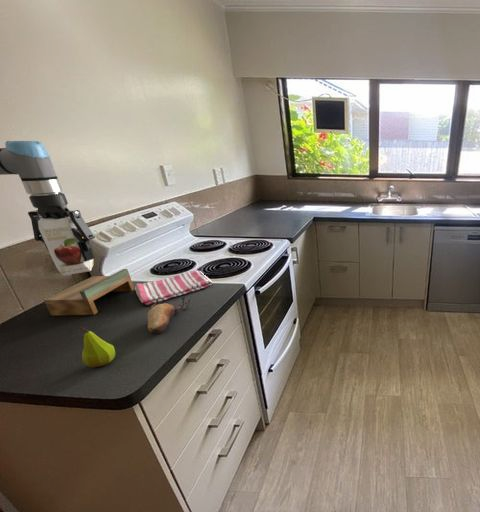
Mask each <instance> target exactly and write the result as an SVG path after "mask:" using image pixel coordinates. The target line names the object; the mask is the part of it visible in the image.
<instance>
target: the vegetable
mask: <svg viewBox="0 0 480 512" xmlns="http://www.w3.org/2000/svg"><path fill="white" fill-rule="evenodd" d="M157 296H159V294H158V295H157ZM185 298H186V296H183V297H182V298H181V300H182V305H181V304H179V305H178V306H179V307H177V306H174V305H173V304H171V303H168V302H167V301H166V302H164V303H162V302H163V301H164V300H163V299H162V300H163V301H160V302H158V299H159V297H158V299H157V302H156V303H153V304H151V306H150V309H149V310H148V312H147V314H146V317H147V318H146V319H147V330H148V332H150V333H151V334H154V335H160V334H162V333H164V332H165V331H166V329H167V328H168V325H169V322H170V320H171V319H172V317H174V316H175V315H176V314H177V312H178V311H186V309H187V308H188V307H189V305H190V303H191V299H188V300H187V301H188V303H187V302H185ZM157 303H158V304H157ZM184 305H185V308H184Z"/></svg>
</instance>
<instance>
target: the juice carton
mask: <svg viewBox="0 0 480 512" xmlns="http://www.w3.org/2000/svg"><path fill="white" fill-rule="evenodd" d="M38 225H39V230H40V233H41V235H42V237H43V239H44V241H45V244H46V246H47V248H48V250H49V251H48V250H47V251H48V253H49V255H50V256H51V260H52V262H53V263H54V265H55V268H56V269H57V271H58V272H59V273H60V275H62V276H63V277H64V276H70V275H76V274H81V273H87V272H91V271H92V269H93V267H94V259H91V260H89V261H85V260H84V257H83V255H82V252H81V250H80V248H79V245H78V242H79V240H78V239H77V238H76V237H75V236H74V235H73V232H72V230H71V228H75V229H77V228H76V226H75V225H74V223H73V222H72V220H71V218H70V217H65V218H61V219H54V218H47V219H45V218H41V219H40V220H39V221H38ZM41 235H40V236H41ZM82 238H83V237H82ZM45 244H44V245H45ZM46 246H45V247H46ZM47 248H46V249H47Z"/></svg>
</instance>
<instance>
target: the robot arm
mask: <svg viewBox="0 0 480 512" xmlns="http://www.w3.org/2000/svg"><path fill="white" fill-rule="evenodd" d="M4 145H5V147H0V176H1V175H3V176H4V175H6V176H7V175H18V177H19V178H20V180H21V183H22V185H23V187H24V190H25V192H26V194H27V195H29V196H28V198H29V200H30V203H31V205H32V207H33V208H35V209H36V210H30V211H28V212H27V215H28V216H29V218H30V221H31V222H30V223H31V226H32V231H33V238H34V241H36V242H42V243H43V244H44V246H45V248H46V250H47V252H49V250H48V248H47V246H46V244H45V241H44V239H43V237H42V235H41V233H40V230H39V225H38V221H39V220H40V219H41V218H45V219H47V218H54V219H61V218H65V217H70V218H71V220H72V222H73V223H74V225H75V226H76V228H77V229H75V228H71V230H72V232H73V235H74V236H75V237H76V238H77V239H78V240H79V242H78V245H79V248H80V250H81V252H82V255H83V257H84V260H85V261H89V260H91V259H93V260H94V259H95V255H94V252H93V246H92V244H91V242H90V241H91V240H93V239H95V238H96V237H95V235H94V233H93V231H91V229H90V228H89V226H88V224H87V223H86V222H85V220H84V218H83V217H82V213H81V211H80V209H76V210H70V209H69V208H68V206H67V205H68V203H69V201H68V200H67V197H66V195H65V193H63V191H64V190H63V188H62V185H61V182H60V180H59V179H58V176H57V174H56V171H55V169H54V165H53V163H52V160H51V156H50V155H49V153H48V151H47V149H46V147H45V145H44V143H42V142H41V141H39V140H6V141H5V142H4ZM82 237H83V238H82Z"/></svg>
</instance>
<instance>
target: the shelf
mask: <svg viewBox="0 0 480 512" xmlns="http://www.w3.org/2000/svg"><path fill="white" fill-rule="evenodd" d="M134 286H135V285H134V284H133V280H132V278H131V276H130V272H129V269H128V268H123V269H122V268H121V270H119V271H116V272H115V273H113V274H111V275H104V276H103V275H100V276H99V275H95V276H90V277H89V278H86V279H84V280H82V281H80V282H78V283H76V284H74V285H72V286H70V287H68V288H66V289H64V290H61V291H59V292H57V293H55V294H53V295H51V296H49V297H47V298H45V299H43V302H44V304H45V306H46V308H47V310H48V312H49V314H50V316H94V315H96V314H98V313H99V310H98V309H97V307H96V305H95V300H97V299H99V298H101V297H103V296H105V295H106V294H108V293H110V292H133V291H135V288H134Z"/></svg>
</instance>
